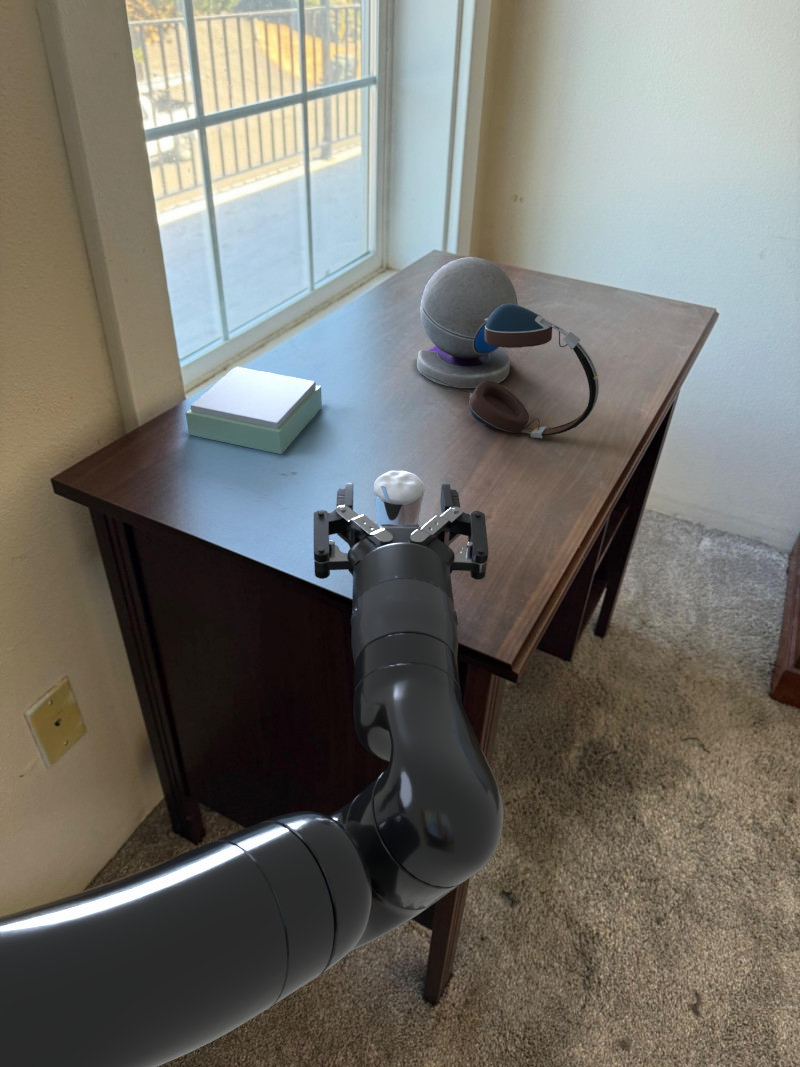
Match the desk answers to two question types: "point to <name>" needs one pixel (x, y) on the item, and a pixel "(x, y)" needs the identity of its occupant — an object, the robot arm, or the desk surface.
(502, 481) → the desk surface
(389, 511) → the milkshake
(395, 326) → the desk surface
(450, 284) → the webcam
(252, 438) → the scale
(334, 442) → the desk surface
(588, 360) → the headphones
